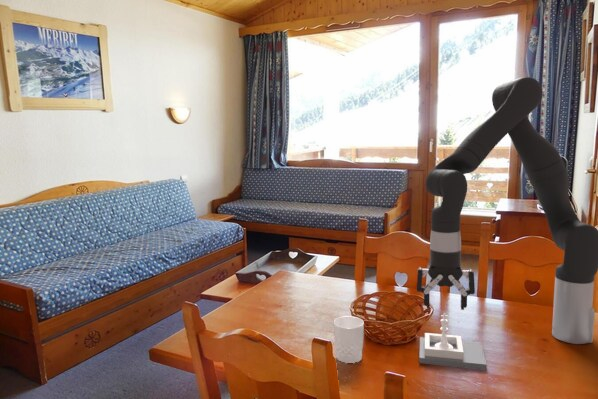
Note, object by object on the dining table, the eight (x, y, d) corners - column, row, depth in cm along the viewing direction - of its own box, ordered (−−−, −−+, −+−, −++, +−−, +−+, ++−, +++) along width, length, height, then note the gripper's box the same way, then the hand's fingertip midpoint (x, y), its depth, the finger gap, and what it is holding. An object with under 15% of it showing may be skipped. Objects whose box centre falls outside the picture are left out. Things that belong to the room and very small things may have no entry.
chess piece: (454, 354, 118) (455, 317, 116) (434, 352, 119) (435, 316, 117) (452, 345, 122) (453, 310, 121) (433, 344, 123) (433, 309, 122)
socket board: (480, 347, 124) (481, 335, 123) (486, 370, 112) (486, 356, 112) (419, 342, 128) (420, 330, 127) (419, 363, 117) (419, 350, 116)
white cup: (356, 368, 115) (356, 330, 114) (328, 360, 119) (328, 324, 118) (368, 354, 122) (368, 319, 120) (342, 348, 126) (341, 313, 124)
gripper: (473, 244, 118) (472, 304, 120) (416, 243, 122) (416, 301, 124) (476, 252, 111) (475, 315, 113) (416, 250, 114) (416, 311, 117)
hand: (444, 307), depth 119 cm, fingers open, 8 cm apart
